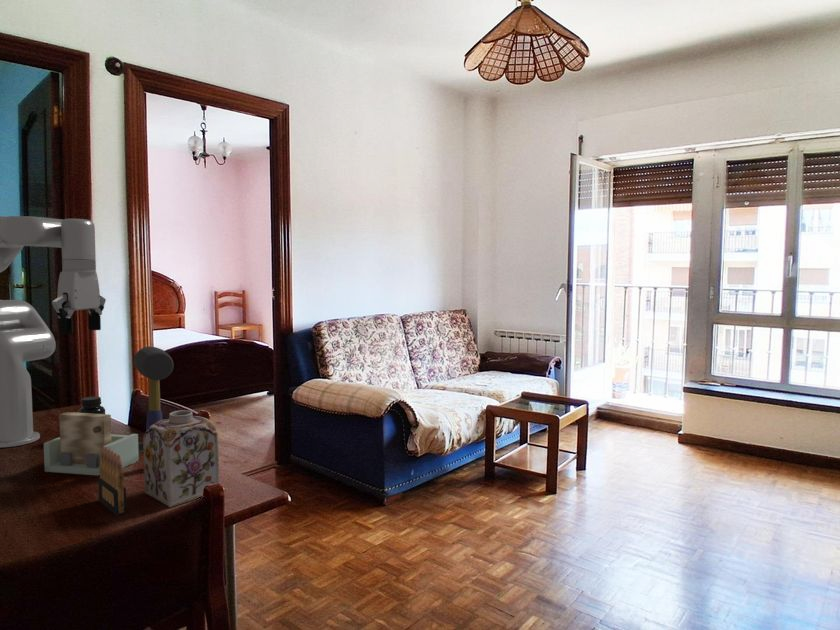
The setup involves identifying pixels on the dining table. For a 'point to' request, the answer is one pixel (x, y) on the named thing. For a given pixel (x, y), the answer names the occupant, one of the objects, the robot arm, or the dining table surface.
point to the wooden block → (84, 434)
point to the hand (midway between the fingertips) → (81, 331)
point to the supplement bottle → (91, 405)
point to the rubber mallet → (153, 377)
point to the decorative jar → (180, 458)
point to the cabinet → (89, 456)
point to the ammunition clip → (112, 482)
